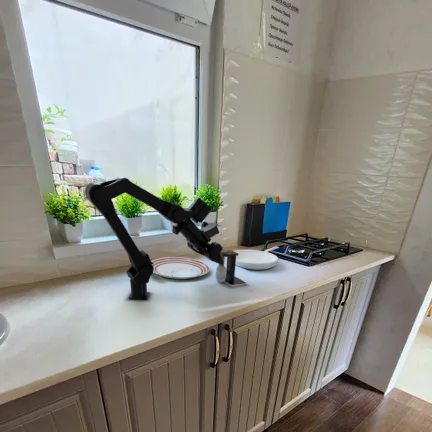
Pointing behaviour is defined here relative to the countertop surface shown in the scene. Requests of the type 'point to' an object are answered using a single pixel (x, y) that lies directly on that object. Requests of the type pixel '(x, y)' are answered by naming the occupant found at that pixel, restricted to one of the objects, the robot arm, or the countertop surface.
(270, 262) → the white round dish
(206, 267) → the dinner plate
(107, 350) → the countertop surface
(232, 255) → the black bracket
